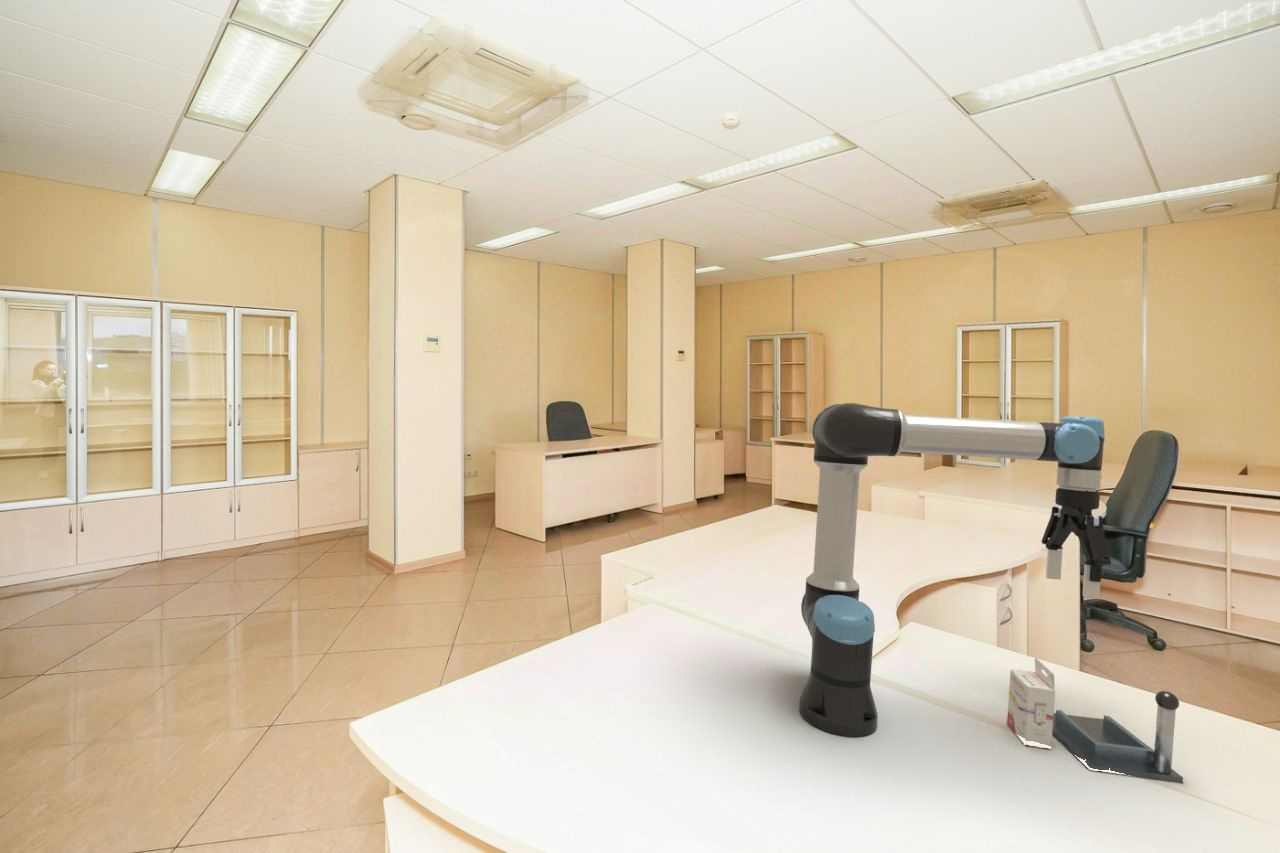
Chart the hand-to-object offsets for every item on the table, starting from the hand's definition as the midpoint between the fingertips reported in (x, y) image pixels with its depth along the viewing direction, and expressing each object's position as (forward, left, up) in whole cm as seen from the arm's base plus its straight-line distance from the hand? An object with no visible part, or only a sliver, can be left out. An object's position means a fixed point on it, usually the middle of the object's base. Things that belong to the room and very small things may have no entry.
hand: (1070, 587), depth 124 cm
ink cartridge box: (-12, -11, -28) cm, 33 cm away
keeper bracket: (+1, -11, -28) cm, 30 cm away
